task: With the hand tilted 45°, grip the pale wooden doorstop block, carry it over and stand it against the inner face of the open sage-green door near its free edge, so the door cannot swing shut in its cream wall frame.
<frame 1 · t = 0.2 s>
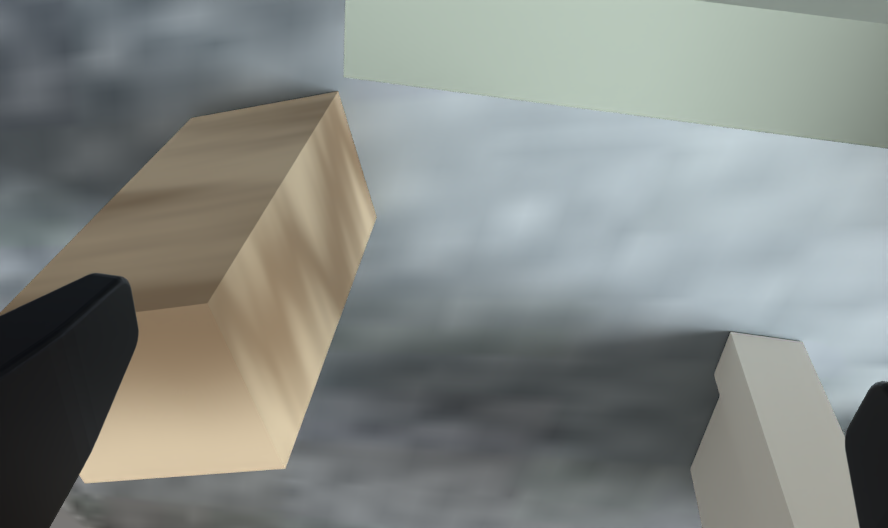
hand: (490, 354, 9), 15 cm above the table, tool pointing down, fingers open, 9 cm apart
wall frame: (843, 155, 23), on the table
doorstop block: (286, 168, 25), on the table
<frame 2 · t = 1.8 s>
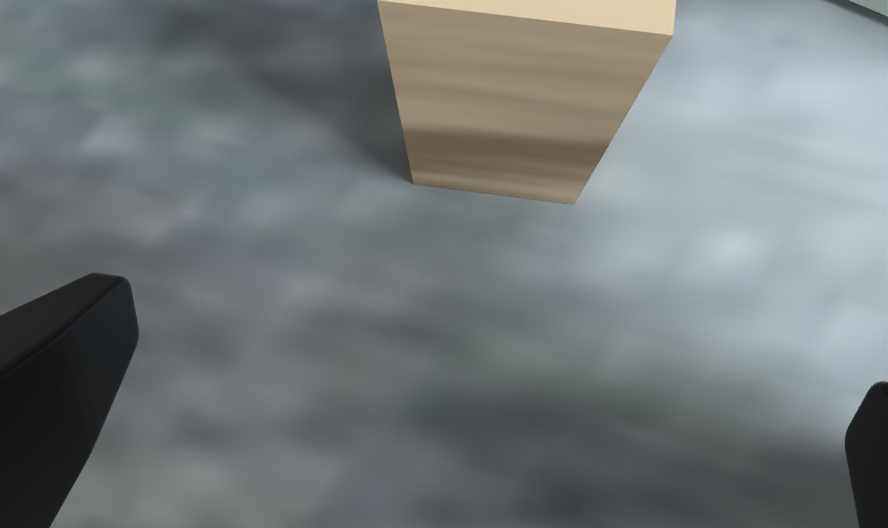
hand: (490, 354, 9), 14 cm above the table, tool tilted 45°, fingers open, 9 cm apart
doorstop block: (502, 125, 24), on the table
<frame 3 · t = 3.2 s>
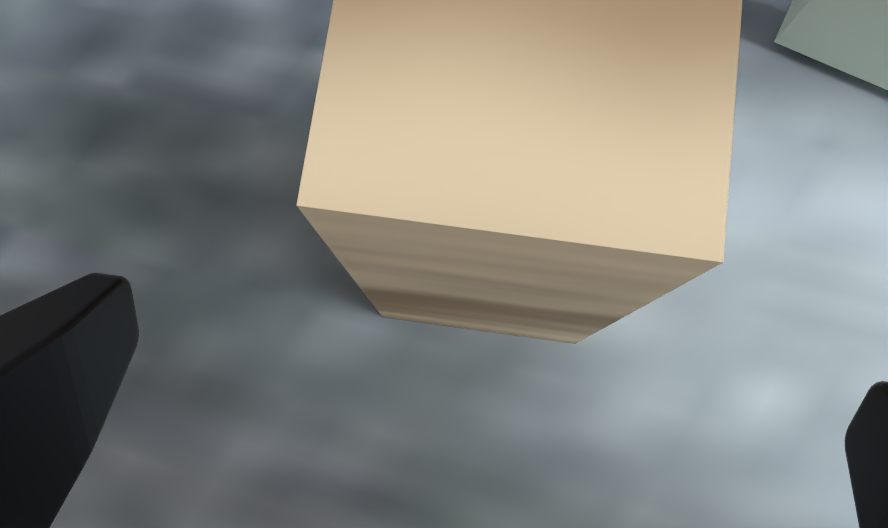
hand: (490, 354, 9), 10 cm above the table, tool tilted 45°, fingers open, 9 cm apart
doorstop block: (489, 245, 20), on the table
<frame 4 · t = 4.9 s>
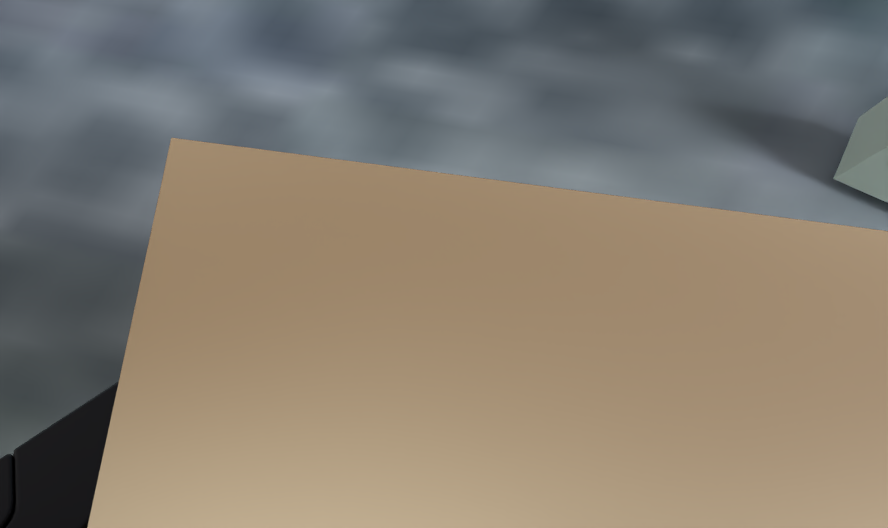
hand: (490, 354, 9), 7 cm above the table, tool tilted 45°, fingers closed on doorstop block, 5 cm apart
doorstop block: (466, 445, 16), on the table, touching gripper
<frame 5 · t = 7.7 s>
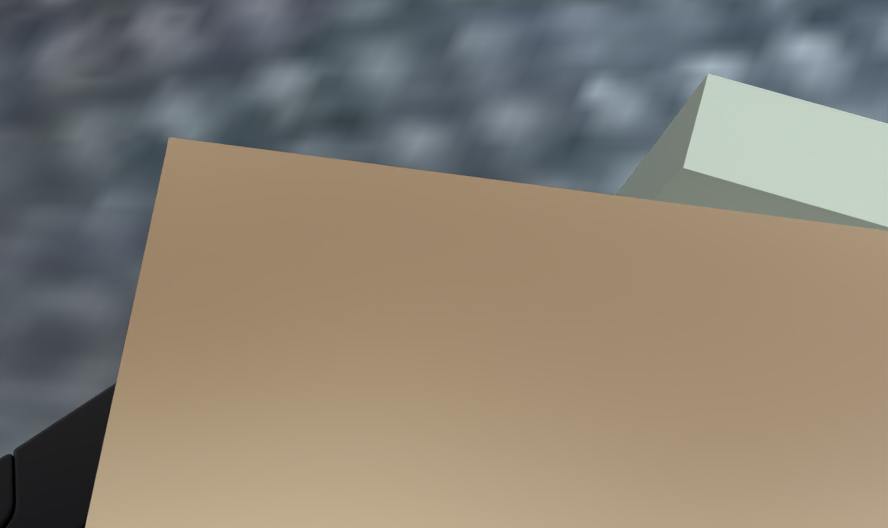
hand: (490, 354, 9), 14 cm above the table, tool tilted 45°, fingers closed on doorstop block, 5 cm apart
doorstop block: (465, 445, 16), point 7 cm above the table, touching gripper
when the fingers open (7 cm above the table, at t = 10.6 s): doorstop block stays where it is, on the table.
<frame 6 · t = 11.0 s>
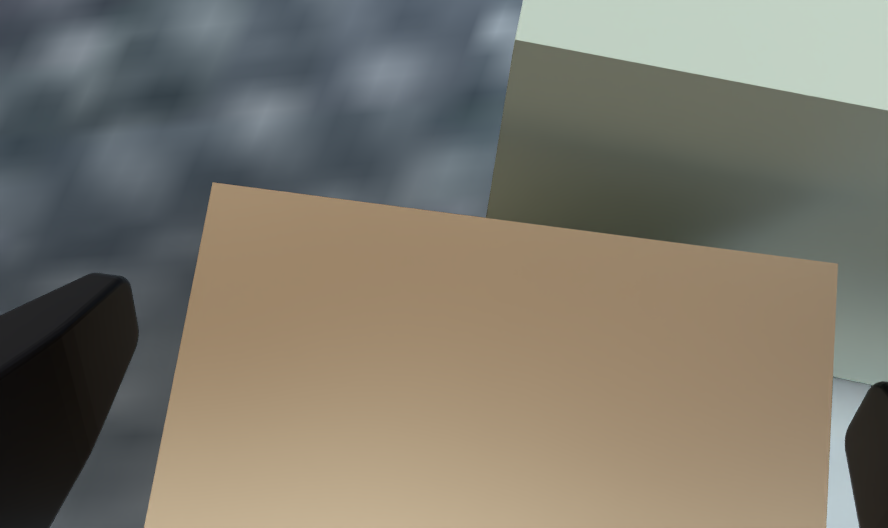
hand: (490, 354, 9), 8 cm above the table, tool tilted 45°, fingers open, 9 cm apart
doorstop block: (465, 443, 16), on the table
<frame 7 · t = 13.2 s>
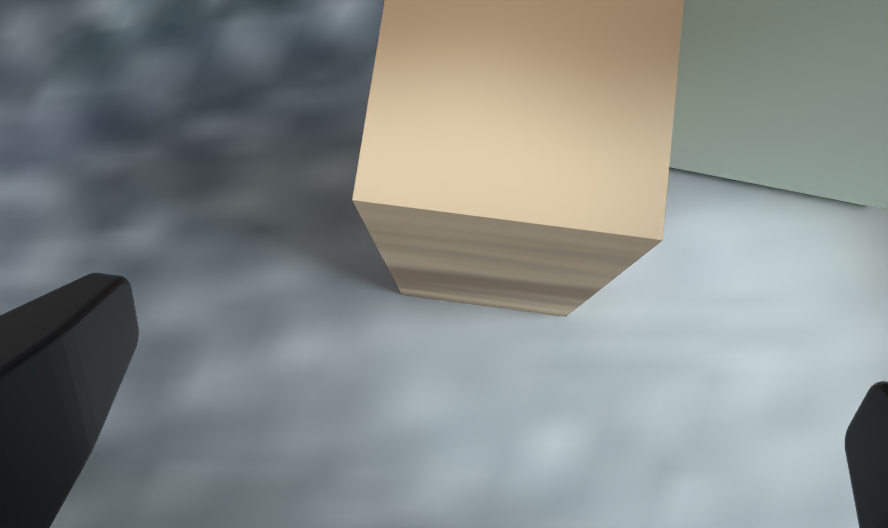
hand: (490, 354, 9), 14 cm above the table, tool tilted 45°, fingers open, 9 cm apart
doorstop block: (492, 233, 23), on the table
door: (781, 31, 17), point 7 cm above the table, hinge at -90.0°
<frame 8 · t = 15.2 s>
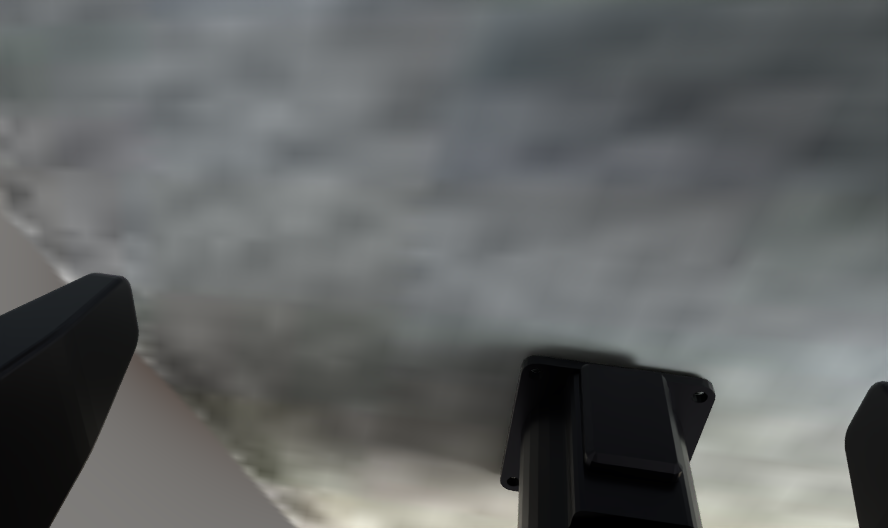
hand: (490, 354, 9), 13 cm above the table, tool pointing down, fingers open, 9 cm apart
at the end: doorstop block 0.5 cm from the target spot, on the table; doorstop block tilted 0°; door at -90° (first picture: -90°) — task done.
